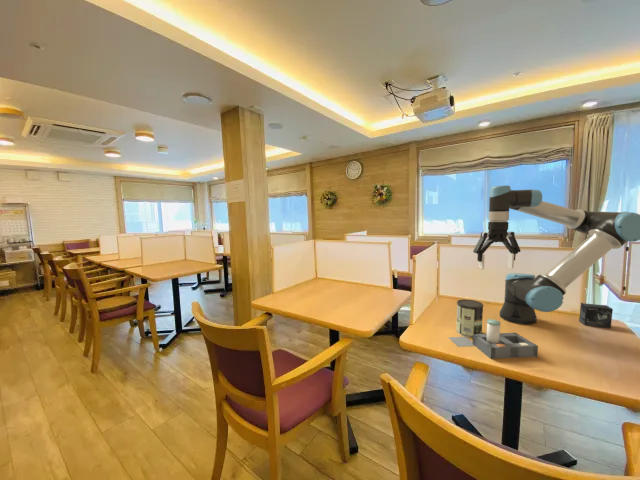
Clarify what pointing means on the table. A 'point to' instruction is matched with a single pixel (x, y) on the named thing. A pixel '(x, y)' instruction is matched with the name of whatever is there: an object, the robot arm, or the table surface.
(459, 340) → the mat
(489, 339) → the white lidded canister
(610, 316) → the box
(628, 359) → the table surface
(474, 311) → the coffee can
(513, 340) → the socket box
